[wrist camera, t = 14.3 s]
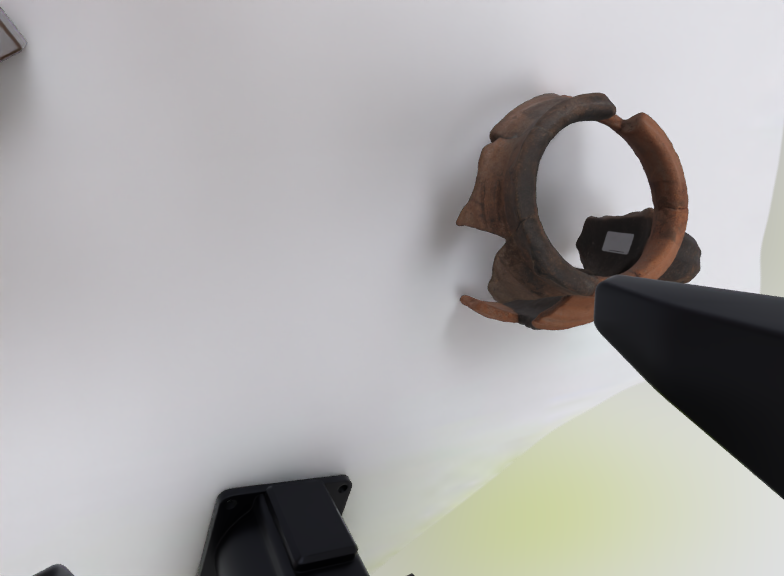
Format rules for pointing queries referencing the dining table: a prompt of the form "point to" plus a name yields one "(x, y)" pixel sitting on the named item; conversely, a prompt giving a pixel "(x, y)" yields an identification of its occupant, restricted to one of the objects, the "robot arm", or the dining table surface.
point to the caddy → (9, 37)
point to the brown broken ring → (599, 235)
